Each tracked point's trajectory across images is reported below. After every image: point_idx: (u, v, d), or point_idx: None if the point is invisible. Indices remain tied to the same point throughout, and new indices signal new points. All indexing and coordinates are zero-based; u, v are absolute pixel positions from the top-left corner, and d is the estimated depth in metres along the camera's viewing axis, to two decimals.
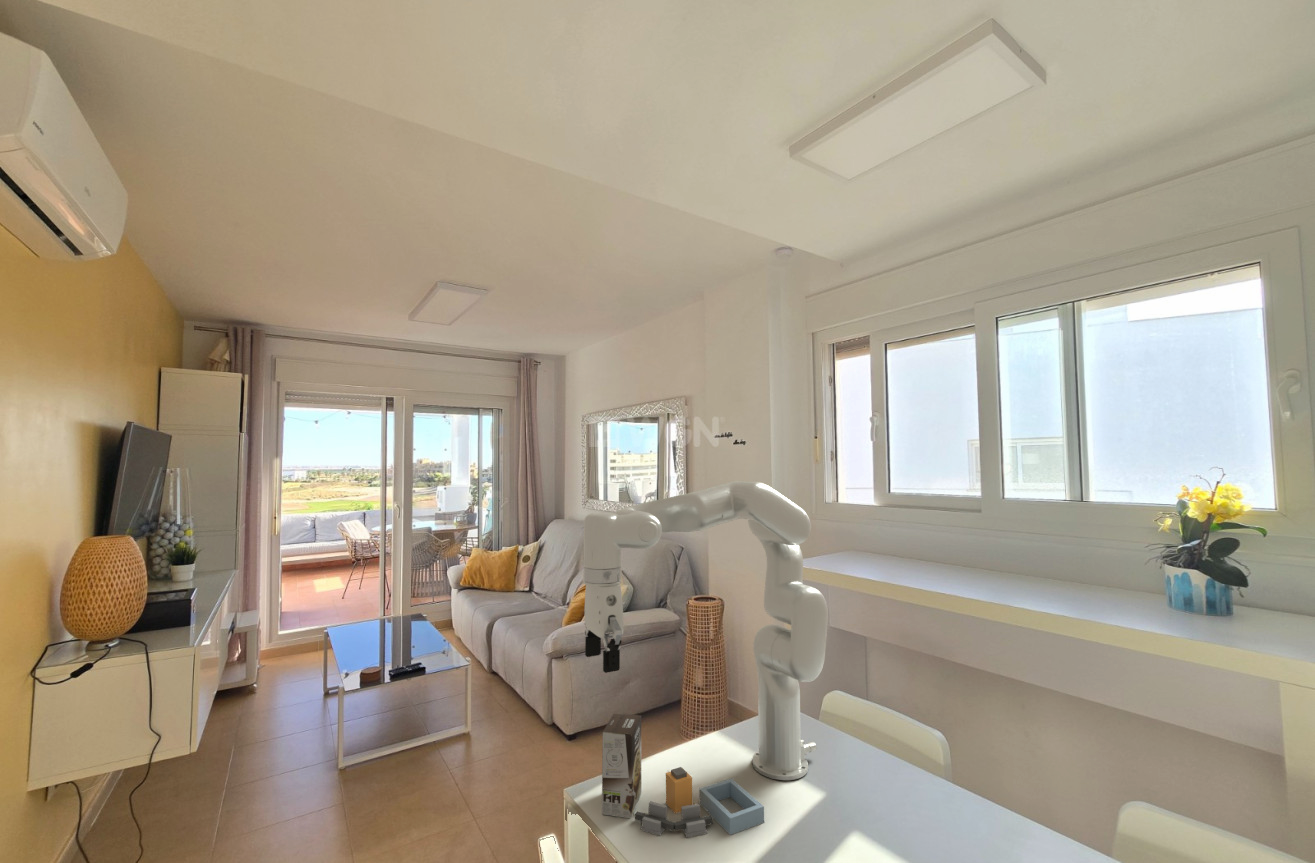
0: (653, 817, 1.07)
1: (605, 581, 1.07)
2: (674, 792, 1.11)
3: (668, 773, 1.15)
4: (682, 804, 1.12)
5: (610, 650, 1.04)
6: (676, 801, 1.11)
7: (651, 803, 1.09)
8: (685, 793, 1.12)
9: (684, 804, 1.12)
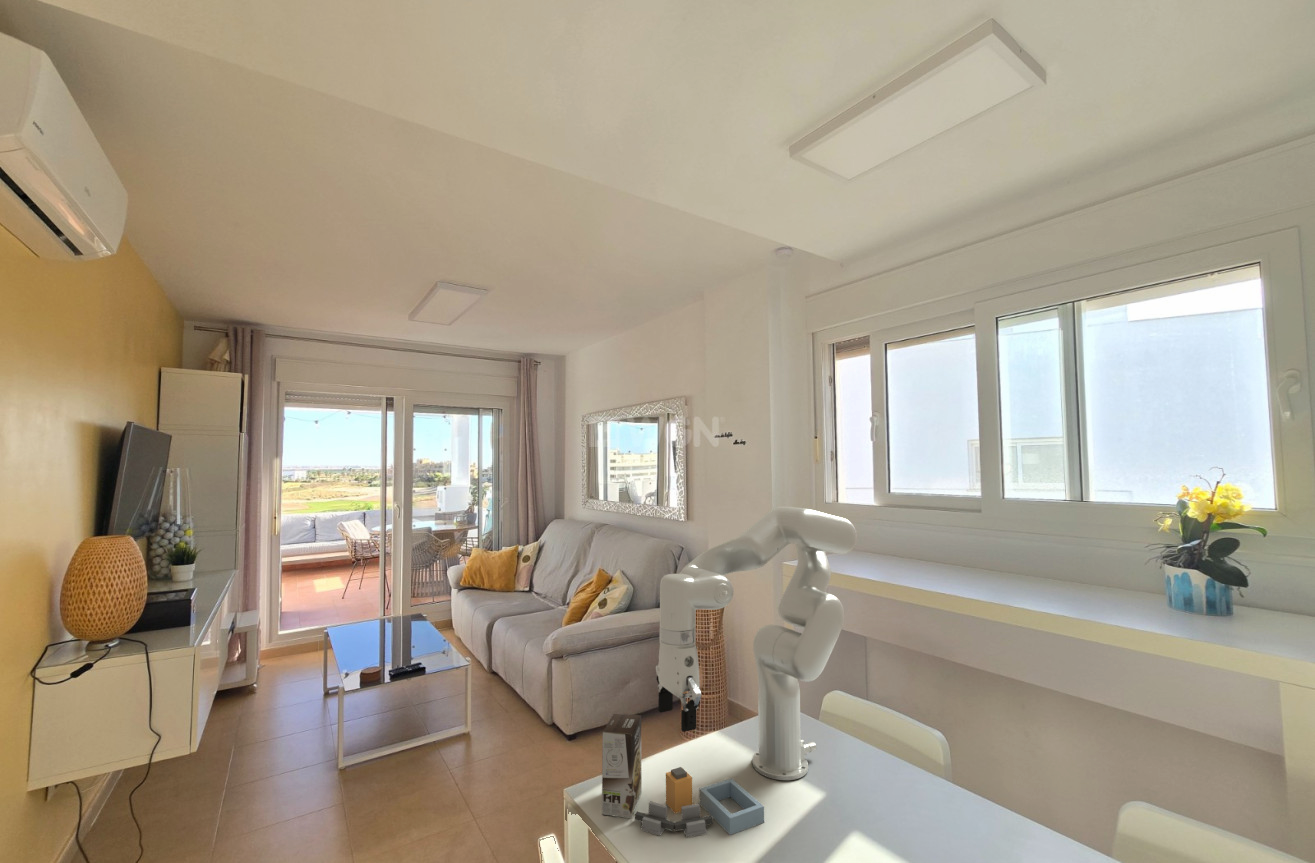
0: (653, 817, 1.07)
1: (683, 642, 1.12)
2: (674, 792, 1.11)
3: (668, 773, 1.15)
4: (682, 804, 1.12)
5: (689, 710, 1.09)
6: (676, 801, 1.11)
7: (651, 803, 1.09)
8: (685, 793, 1.12)
9: (684, 804, 1.12)
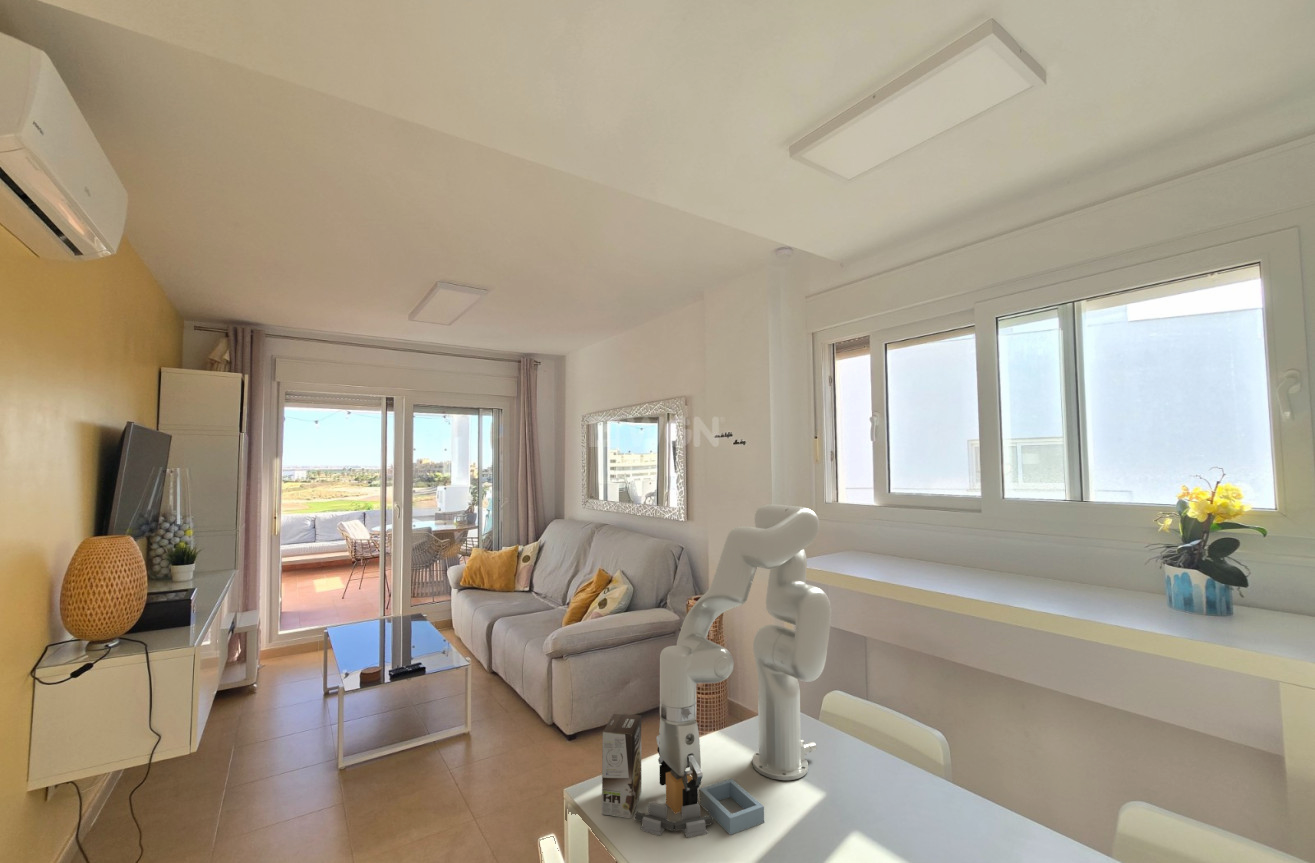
0: (653, 817, 1.07)
1: (683, 719, 1.11)
2: (674, 792, 1.11)
3: (668, 773, 1.15)
4: (682, 804, 1.12)
5: (690, 789, 1.08)
6: (676, 801, 1.11)
7: (651, 803, 1.09)
8: None
9: None
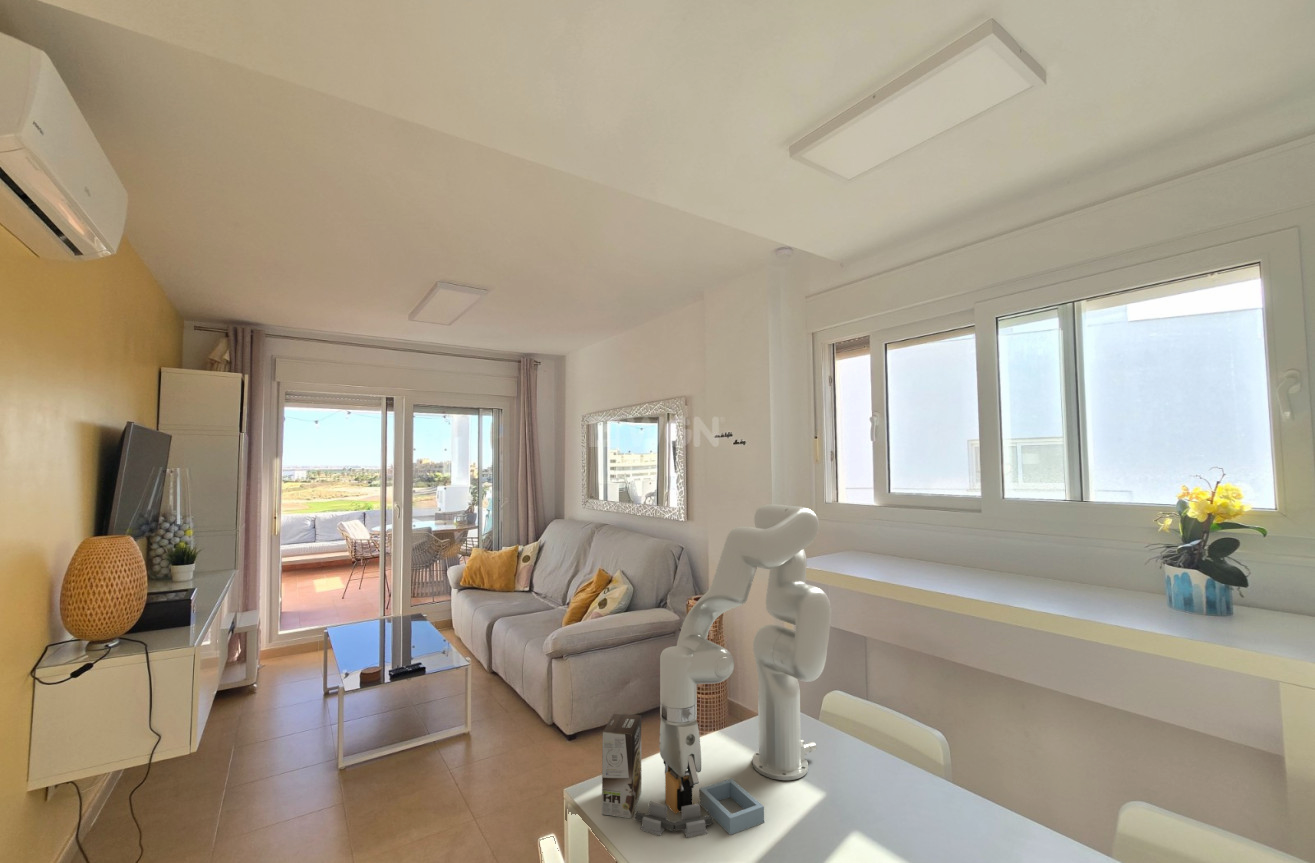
0: (653, 817, 1.07)
1: (684, 720, 1.11)
2: (674, 792, 1.11)
3: (668, 773, 1.15)
4: None
5: (684, 790, 1.10)
6: (676, 801, 1.11)
7: (651, 803, 1.09)
8: None
9: None
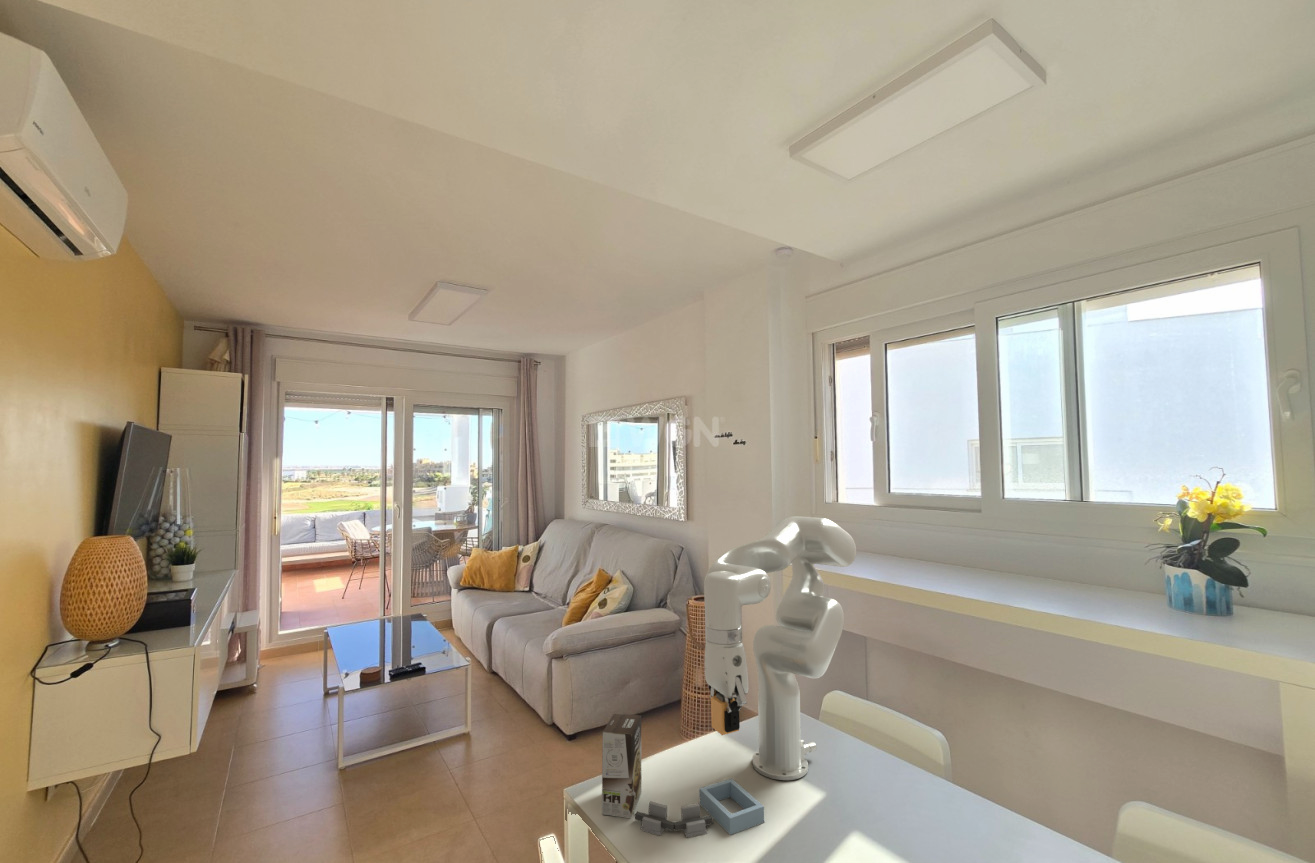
0: (653, 817, 1.07)
1: (730, 642, 1.10)
2: (721, 713, 1.10)
3: (713, 697, 1.14)
4: None
5: (732, 711, 1.09)
6: (723, 722, 1.10)
7: (651, 803, 1.09)
8: None
9: None
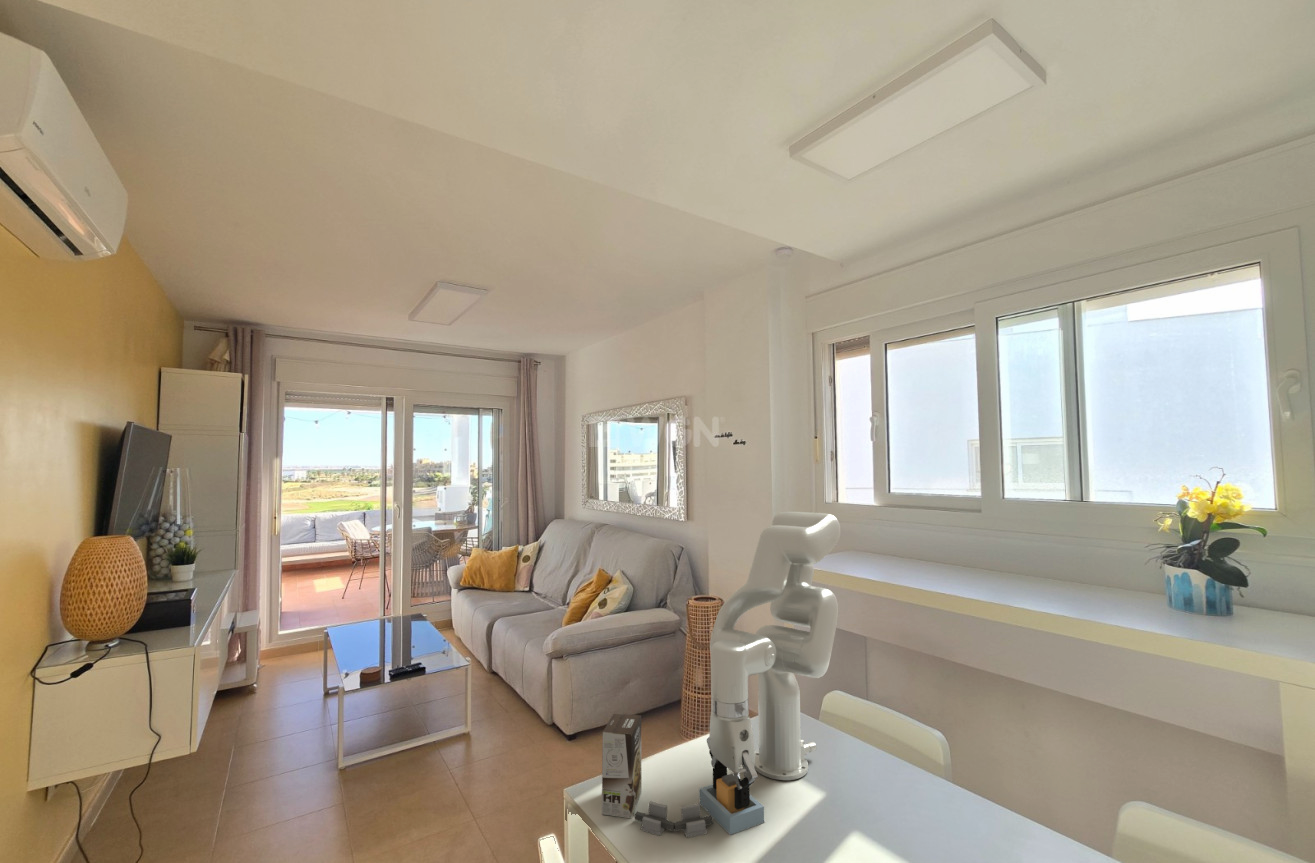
0: (653, 817, 1.07)
1: (737, 715, 1.09)
2: (727, 799, 1.09)
3: (719, 780, 1.12)
4: (734, 812, 1.09)
5: (742, 788, 1.07)
6: (729, 808, 1.09)
7: (651, 803, 1.09)
8: None
9: None
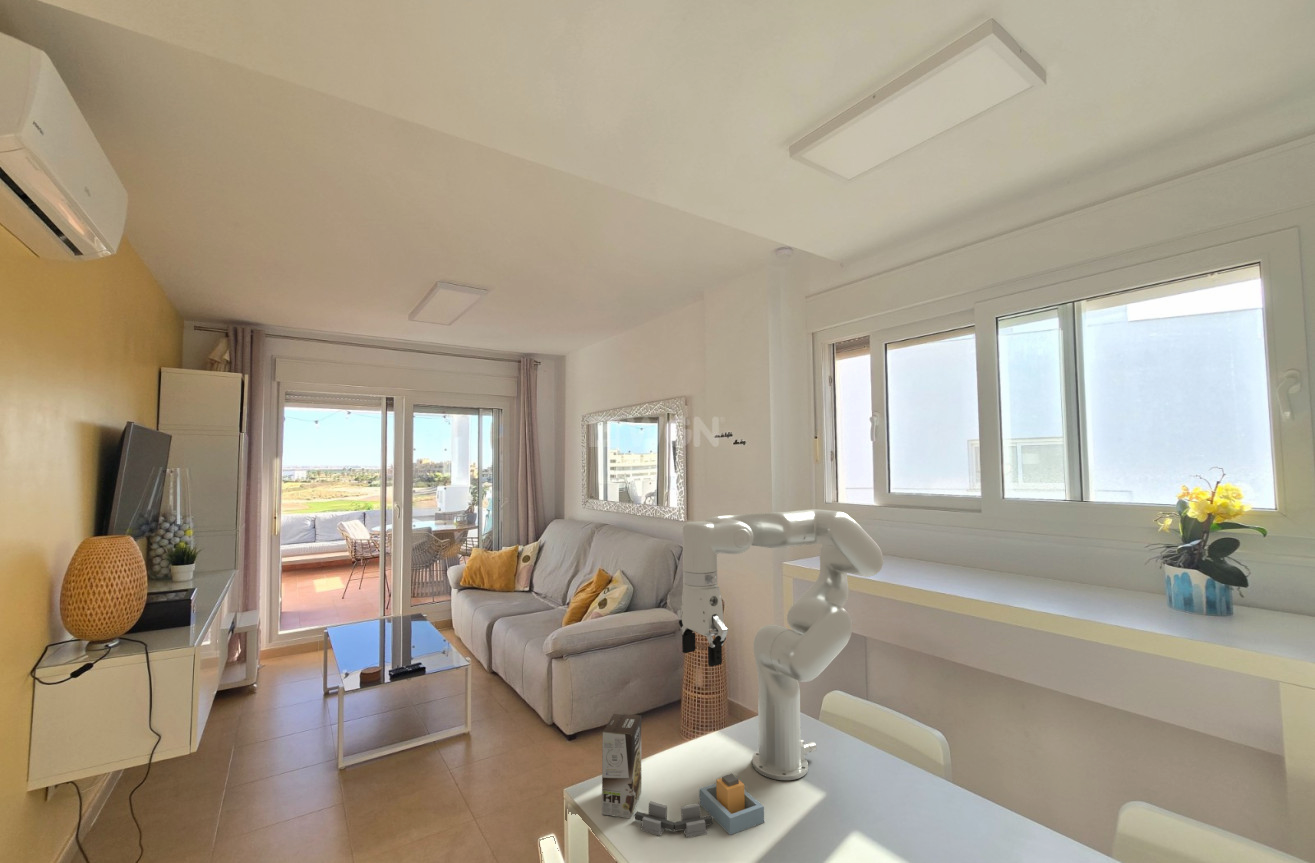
0: (653, 817, 1.07)
1: (707, 584, 1.18)
2: (727, 799, 1.09)
3: (719, 780, 1.12)
4: (734, 812, 1.09)
5: (715, 646, 1.15)
6: (729, 808, 1.09)
7: (651, 803, 1.09)
8: (738, 801, 1.10)
9: None
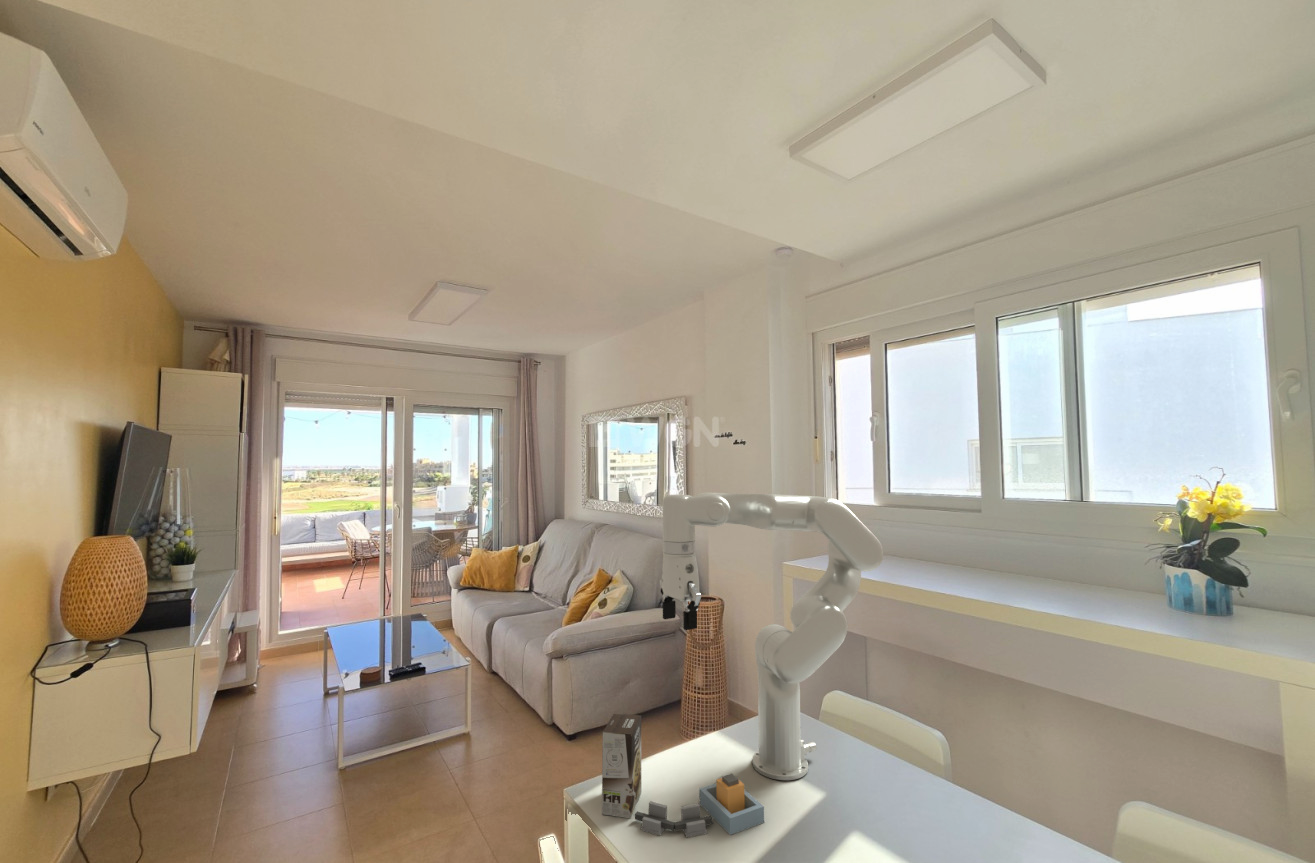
0: (653, 817, 1.07)
1: (683, 552, 1.25)
2: (727, 799, 1.09)
3: (719, 780, 1.12)
4: (734, 812, 1.09)
5: (690, 610, 1.22)
6: (729, 808, 1.09)
7: (651, 803, 1.09)
8: (738, 801, 1.10)
9: None
